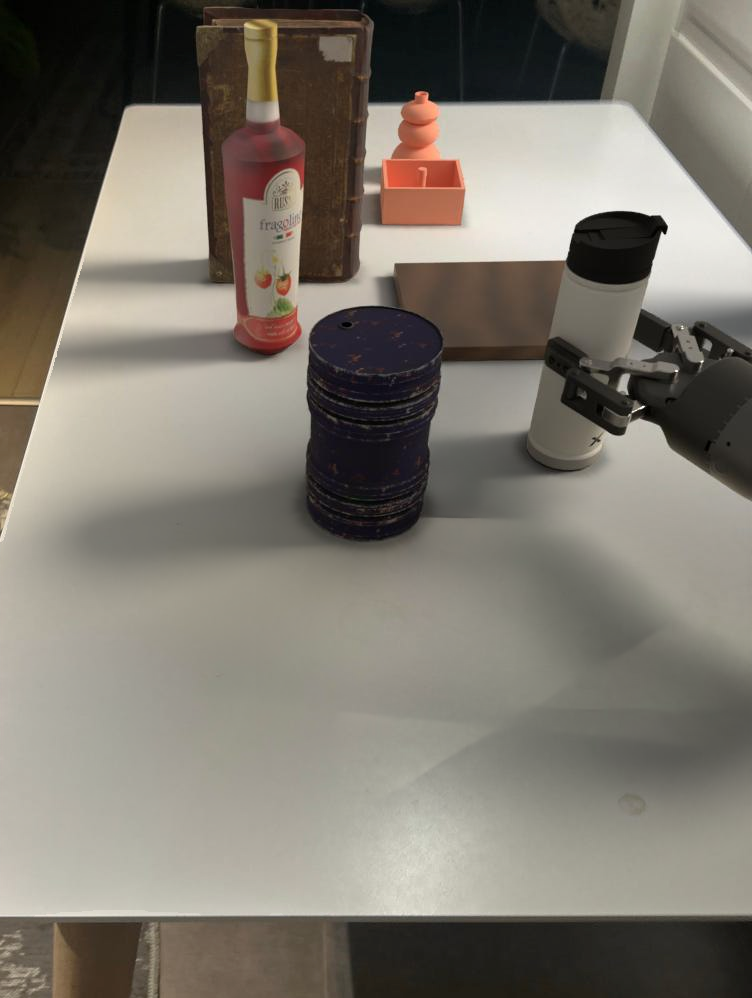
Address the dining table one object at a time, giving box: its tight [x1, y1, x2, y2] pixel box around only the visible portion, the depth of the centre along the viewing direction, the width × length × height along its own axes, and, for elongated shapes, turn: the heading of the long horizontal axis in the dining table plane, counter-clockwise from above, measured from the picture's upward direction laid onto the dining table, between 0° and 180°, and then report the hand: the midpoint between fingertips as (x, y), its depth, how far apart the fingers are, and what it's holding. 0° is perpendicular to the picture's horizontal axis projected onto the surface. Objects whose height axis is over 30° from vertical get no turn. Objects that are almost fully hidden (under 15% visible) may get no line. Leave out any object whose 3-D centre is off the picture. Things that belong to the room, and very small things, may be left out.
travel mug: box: [526, 210, 669, 471], centre depth 76 cm, size 6×7×20 cm
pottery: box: [379, 91, 466, 226], centre depth 118 cm, size 18×10×10 cm, turn 177°
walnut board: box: [393, 259, 566, 362], centre depth 99 cm, size 20×18×2 cm
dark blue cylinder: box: [304, 305, 444, 543], centre depth 73 cm, size 10×10×15 cm
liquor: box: [221, 20, 305, 355], centre depth 86 cm, size 7×7×28 cm
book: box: [195, 6, 375, 283], centre depth 98 cm, size 17×7×25 cm, turn 82°
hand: (590, 333), depth 76 cm, fingers open, 8 cm apart
